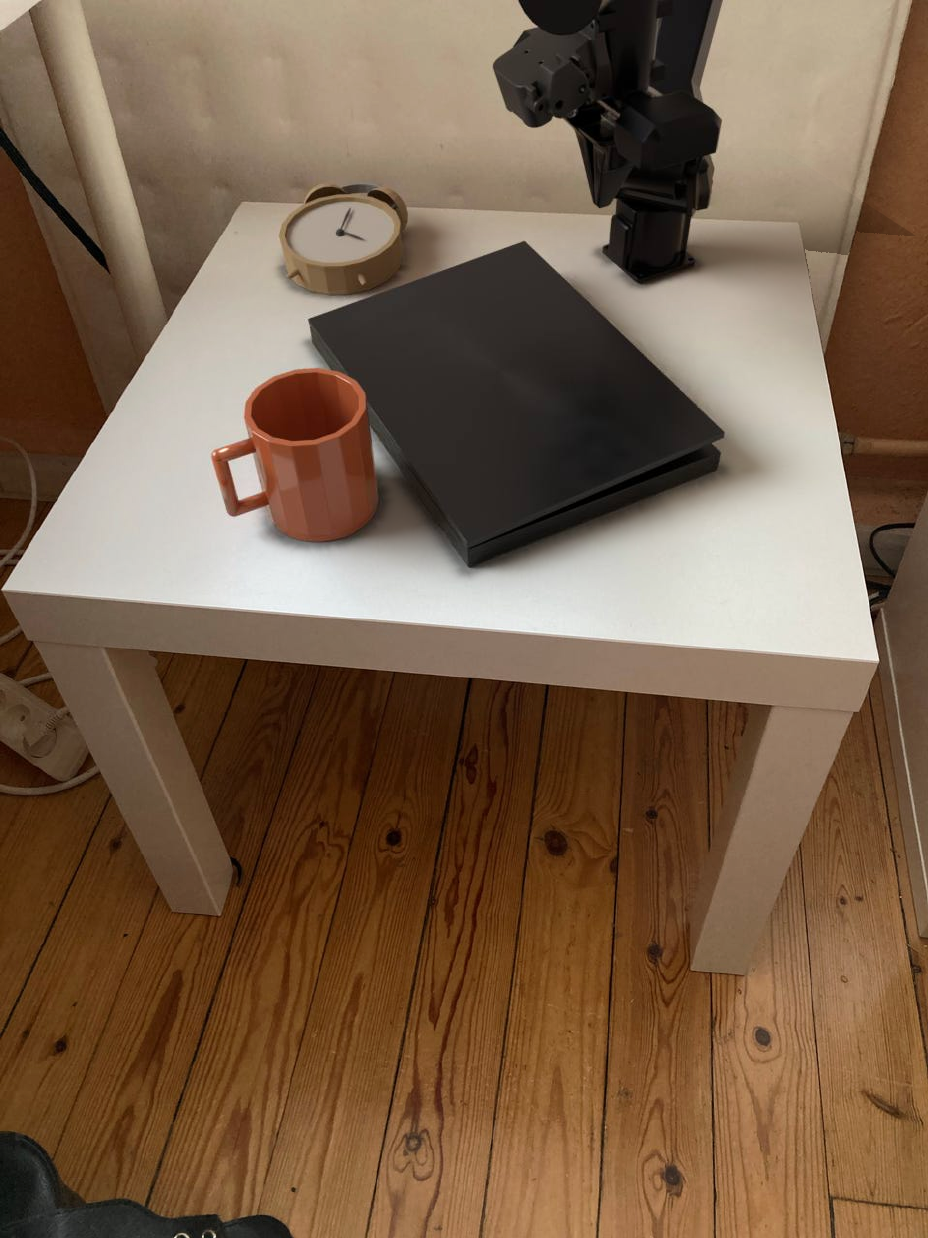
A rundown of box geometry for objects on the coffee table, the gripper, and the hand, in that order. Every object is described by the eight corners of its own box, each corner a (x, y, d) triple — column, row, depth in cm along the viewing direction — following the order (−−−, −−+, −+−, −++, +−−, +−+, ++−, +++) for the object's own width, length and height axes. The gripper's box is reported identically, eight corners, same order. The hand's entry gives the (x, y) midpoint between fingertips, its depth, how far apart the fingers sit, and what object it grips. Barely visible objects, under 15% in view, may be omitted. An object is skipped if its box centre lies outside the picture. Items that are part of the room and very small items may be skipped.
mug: (353, 452, 79) (338, 355, 72) (396, 518, 75) (385, 420, 68) (216, 499, 76) (187, 403, 69) (252, 571, 72) (225, 475, 65)
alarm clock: (262, 263, 92) (306, 155, 99) (274, 305, 96) (315, 199, 103) (383, 273, 90) (419, 163, 97) (390, 315, 94) (424, 207, 101)
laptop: (524, 277, 94) (525, 258, 93) (717, 470, 77) (722, 451, 75) (312, 343, 89) (309, 324, 87) (468, 567, 71) (467, 549, 70)
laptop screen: (524, 247, 92) (524, 240, 91) (724, 439, 74) (725, 431, 74) (309, 325, 87) (307, 318, 87) (467, 550, 70) (466, 543, 69)
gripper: (445, -43, 70) (454, 179, 82) (587, 55, 59) (572, 293, 71) (586, -72, 73) (574, 146, 85) (744, 15, 62) (705, 251, 74)
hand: (601, 205), depth 79 cm, fingers closed
